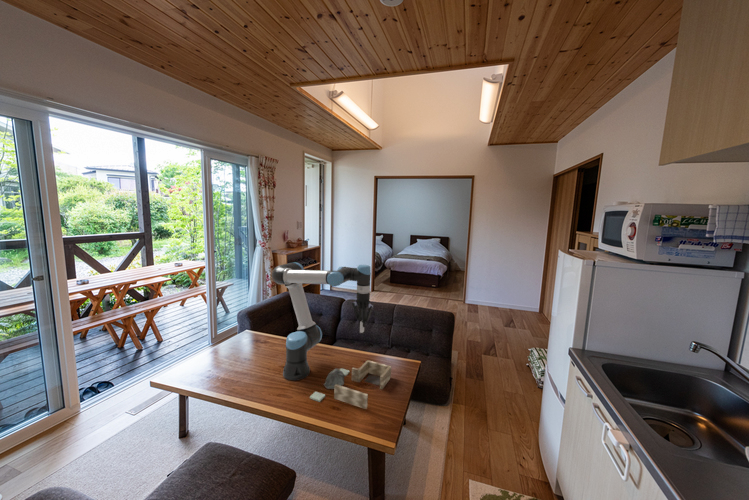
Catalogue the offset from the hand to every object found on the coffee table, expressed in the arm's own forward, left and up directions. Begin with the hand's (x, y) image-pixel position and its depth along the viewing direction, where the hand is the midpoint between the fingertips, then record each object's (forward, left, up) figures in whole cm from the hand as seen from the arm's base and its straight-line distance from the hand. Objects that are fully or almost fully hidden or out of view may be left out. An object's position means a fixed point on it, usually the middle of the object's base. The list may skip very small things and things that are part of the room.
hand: (361, 331), depth 165 cm
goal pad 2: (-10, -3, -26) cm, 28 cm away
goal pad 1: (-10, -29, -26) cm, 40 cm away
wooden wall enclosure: (+7, -10, -26) cm, 29 cm away
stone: (-7, -16, -27) cm, 32 cm away
